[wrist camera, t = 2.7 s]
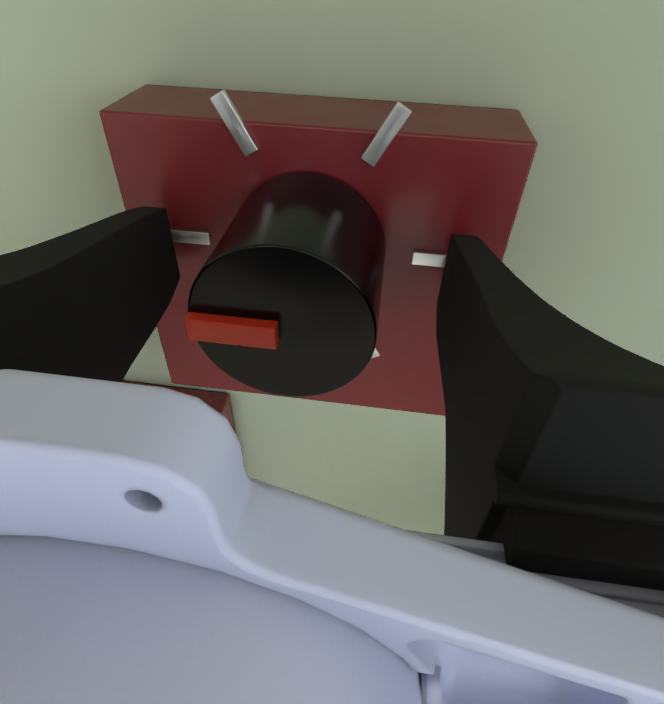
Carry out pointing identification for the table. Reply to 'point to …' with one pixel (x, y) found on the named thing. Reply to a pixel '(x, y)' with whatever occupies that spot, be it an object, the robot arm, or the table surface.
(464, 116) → the panel
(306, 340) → the knob
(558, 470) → the robot arm
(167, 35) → the table surface
